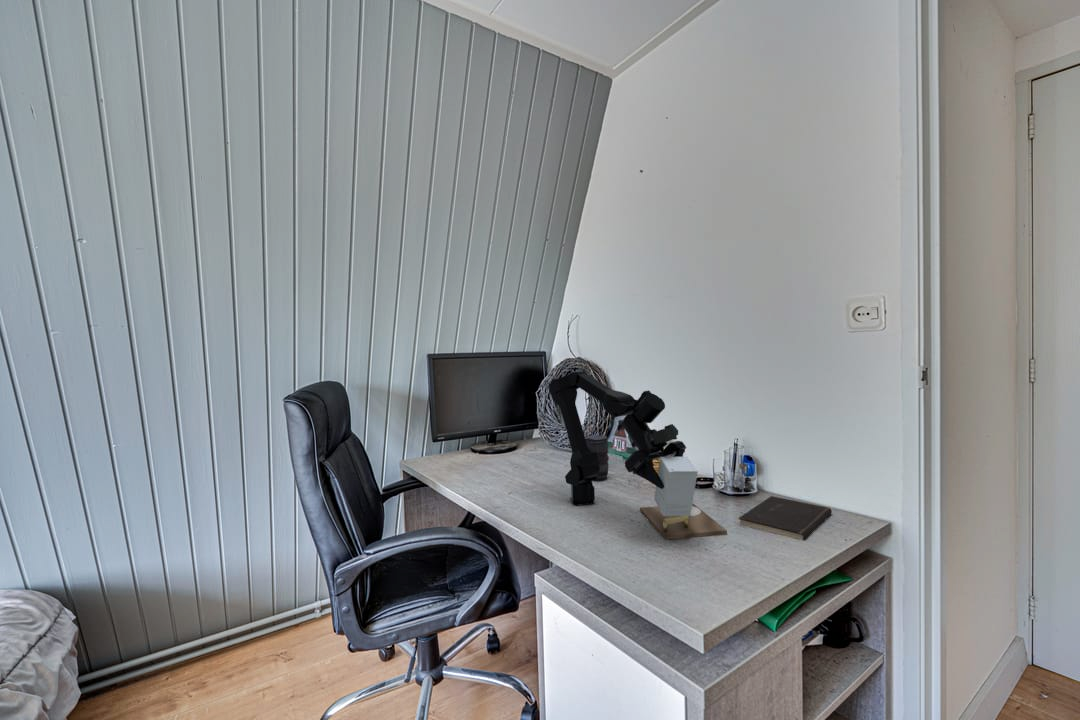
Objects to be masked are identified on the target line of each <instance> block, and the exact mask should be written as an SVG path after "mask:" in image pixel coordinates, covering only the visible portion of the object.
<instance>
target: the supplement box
mask: <svg viewBox="0 0 1080 720" xmlns="http://www.w3.org/2000/svg"><path fill="white" fill-rule="evenodd" d="M657 468H658V469H657V474H658V475H659V477H660V479H661V480H662V482H663V484H664V488H663V489H660V488H659V487H657V486H656V485H655V490H654V491H655V492H654V497H653V498H654V499H653V500H654V501H655V504H656V505H657V506H658V508H659V510H660V511H661V513H662V515H663V516H690V515H691V509H692V504H694V502H693V501H694V495H695V489H696V484H697V477H698V474H699V473H698V470H697V468H696V467H695V466H694V464H693V463H692V461H691V460H690V458H689V457H688V456H683V457H660V458H659V462H658V467H657Z"/></svg>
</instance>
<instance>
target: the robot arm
mask: <svg viewBox="0 0 1080 720" xmlns="http://www.w3.org/2000/svg"><path fill="white" fill-rule="evenodd" d="M578 389H581V390H583V392H585V393H587V394H588V395H589V396H591V397H593V398H594V399H596V401H598V402H600V403H601V404H602V408H603V409H604V411H606V413H608V415H610V416H611V417H612V418H620V417H623V416H624V418H623V419H620V420H618V425H617V427H616V429H617V431H618V432H619V431H623V430H625V432H626V433H627V435H628V436H629V438H630V439H631V441H632V443H631V444H630V445H631V446H632V448H636V449H637V450H636V451H633V452H632V453H631V454H630V455H629V457H627V459H625V461H624V467H625V469H626V471H627V472H628V473H632V474H633V475H637V476H639V477H640V478H642V479H644V480H646V481H648V482H649V483H651V484H653V485H654V486H655V487H656V486H657V487H659V488H660V489H663V488H664V484H663V482H662V480H661V479H660V477H659V475H658V471H657V470H656V469H655V468H654V460H658V459H660V457H684V453H686V449H687V446H686V444H685V443H684V442H683V441H682V440H677V439H678V437H677V436H679V430H678V428H677V427H676V426H675V425H674V424H673V423H669V425H665V426H664V428H662V429H659V430H657V429H655V428H653V429H651V428H650V426H649V425H648V424H651V423H653V422H654V421H655V419H656V418H657V417H658V416H659V415H660V414H661V413H662V412H663V411H664V410H665V408H666V404H665V401H664V399H662V398H661V397H659V396H658V395H656V394H654V393H652V392H651V391H650V390H644V391H643V392H642V393H641V394H640V396H639V397H638V399H636V398H634V397H633V396H632V395H631V394H628V393H625V392H623V391H619V390H614V389H612V388H610V387H609V386H607V385H605V384H604V383H602V382H601V381H599V380H598V379H596V378H594V377H593V376H591V375H589V373H588V372H586V371H584V370H578V371H576V370H575V371H572V372H570V373H568V374H565V375H563V376H562V377H558V378H553V379H551V380H550V383H549V384H548V391H549V393H550V396H551V398H552V401H553V402H554V403H555V404H556V405H557V406H558V407H559V409H560V412H561V416H562V420H563V423H564V427H565V430H566V434H567V437H568V441H569V445H570V448H571V456H570V460H569V463H570V470H569V471H568V472H567V473H566V474H565V475H564V478H565V482H566V484H568V485H570V497H569V499H570V502H571V504H572V505H573V506H584V505H585V506H587V505H594V504H595V500H596V495H595V493H596V492H595V486H594V485H593V482H597V481H596V480H597V477H598V473H599V471H600V466H599V465H600V462H599V460H598V456H597V453H596V452H592V451H591V450H590V449H589V448H588V446H587V443H586V439H585V438H586V436H585V432H584V430H583V425H582V422H581V418H580V416H579V412H578V407H577V405H576V401H577V397H578ZM673 440H674V441H673ZM670 441H672V442H670ZM667 442H669V443H667Z"/></svg>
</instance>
